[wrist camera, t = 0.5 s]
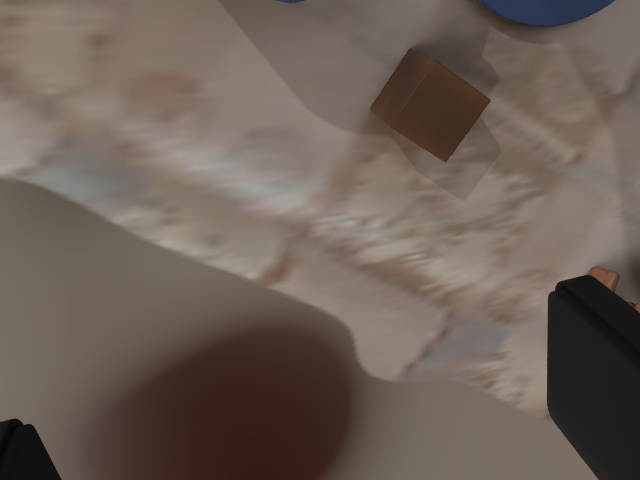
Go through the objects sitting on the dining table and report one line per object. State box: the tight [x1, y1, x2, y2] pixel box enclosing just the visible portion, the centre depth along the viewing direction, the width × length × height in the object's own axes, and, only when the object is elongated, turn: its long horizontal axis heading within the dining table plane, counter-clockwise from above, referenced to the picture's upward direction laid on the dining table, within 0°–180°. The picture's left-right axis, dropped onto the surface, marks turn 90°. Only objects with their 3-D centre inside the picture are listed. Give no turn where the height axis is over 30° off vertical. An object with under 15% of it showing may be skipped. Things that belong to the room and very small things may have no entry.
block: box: [370, 49, 490, 162], centre depth 36 cm, size 4×4×4 cm
